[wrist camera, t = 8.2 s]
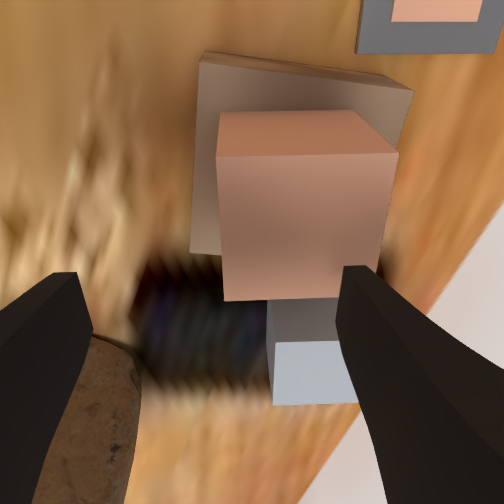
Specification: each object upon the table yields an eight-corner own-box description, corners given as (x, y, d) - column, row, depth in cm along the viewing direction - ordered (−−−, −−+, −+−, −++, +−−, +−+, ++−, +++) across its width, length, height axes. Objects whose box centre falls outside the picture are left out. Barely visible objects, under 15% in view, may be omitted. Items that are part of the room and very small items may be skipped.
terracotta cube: (226, 228, 17) (224, 300, 13) (220, 112, 15) (215, 157, 11) (338, 225, 18) (371, 296, 13) (352, 109, 15) (399, 152, 11)
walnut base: (195, 213, 21) (189, 252, 18) (205, 49, 17) (199, 62, 14) (337, 226, 22) (356, 266, 19) (380, 73, 18) (414, 90, 15)
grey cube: (266, 341, 27) (272, 405, 22) (267, 282, 24) (275, 342, 20) (339, 339, 27) (359, 402, 23) (349, 280, 24) (374, 339, 20)
